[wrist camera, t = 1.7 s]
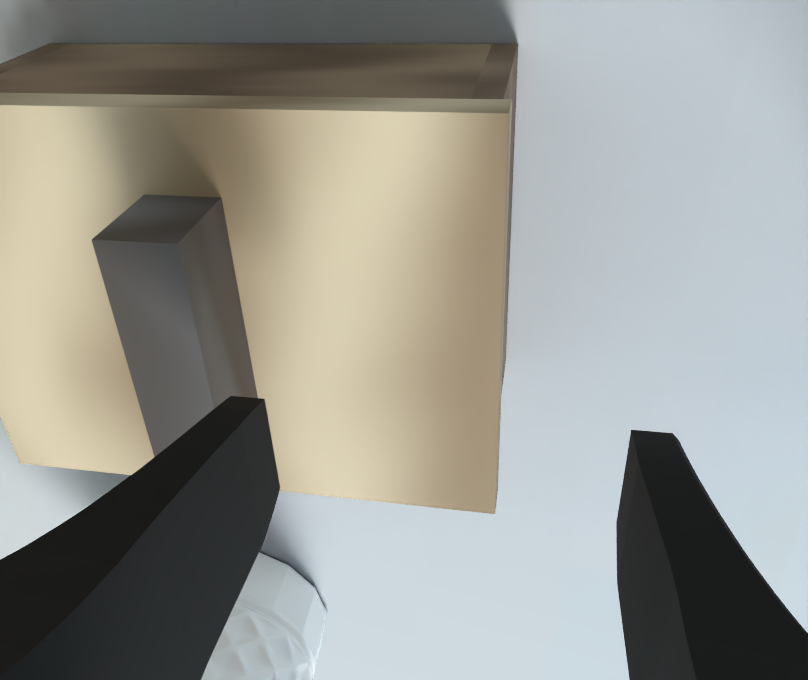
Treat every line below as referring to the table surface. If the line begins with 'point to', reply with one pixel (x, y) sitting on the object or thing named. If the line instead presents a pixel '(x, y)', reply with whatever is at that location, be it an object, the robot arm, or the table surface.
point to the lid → (259, 283)
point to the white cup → (270, 628)
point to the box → (276, 76)
